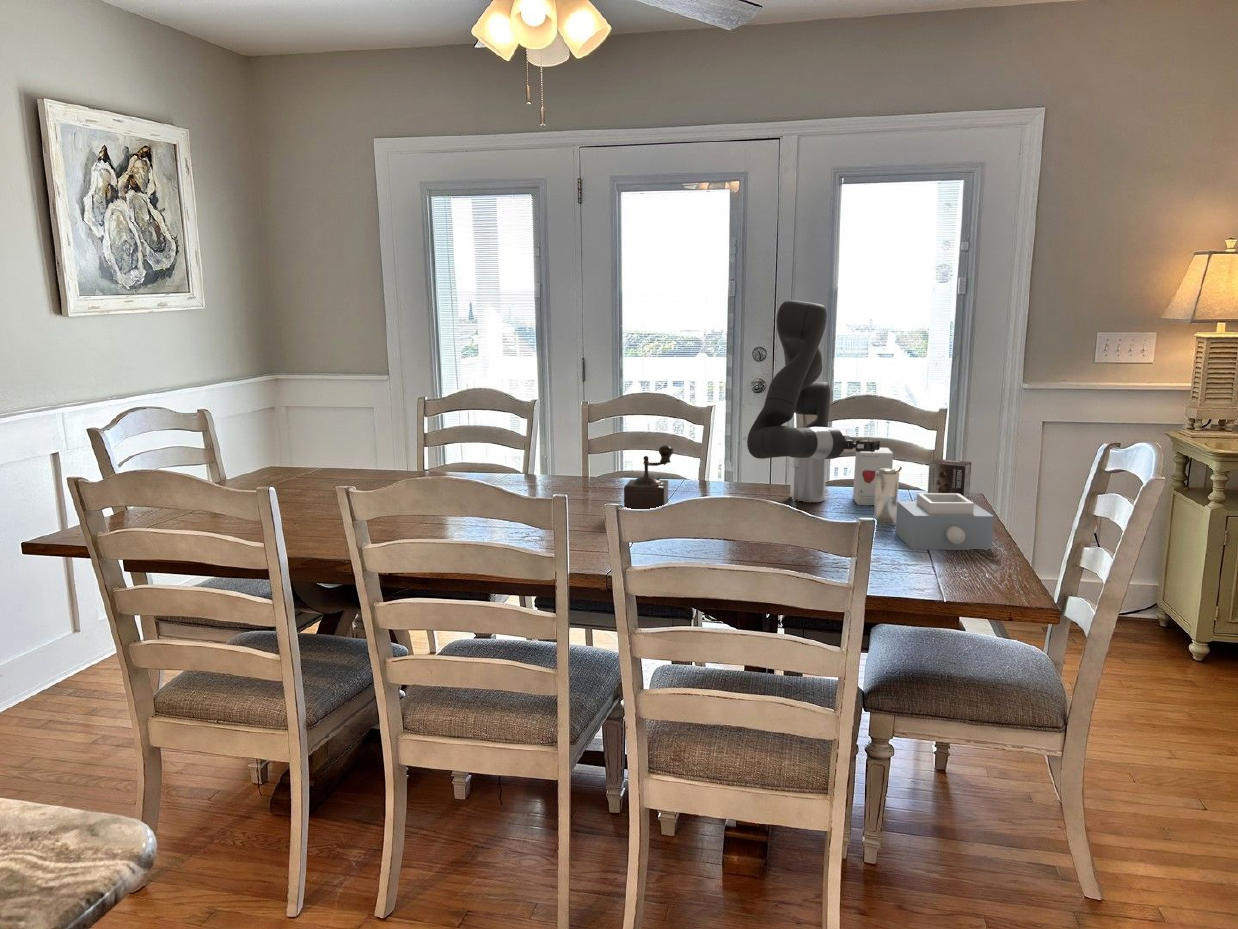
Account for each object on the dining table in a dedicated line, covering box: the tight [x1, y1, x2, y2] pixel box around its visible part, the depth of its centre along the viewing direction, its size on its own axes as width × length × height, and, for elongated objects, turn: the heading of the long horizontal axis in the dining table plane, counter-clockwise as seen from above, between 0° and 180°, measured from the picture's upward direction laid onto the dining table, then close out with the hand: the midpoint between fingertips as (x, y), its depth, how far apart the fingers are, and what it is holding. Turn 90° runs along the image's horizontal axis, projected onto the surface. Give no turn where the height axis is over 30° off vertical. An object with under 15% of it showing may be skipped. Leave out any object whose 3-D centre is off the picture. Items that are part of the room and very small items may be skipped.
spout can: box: [873, 465, 903, 526], centre depth 233 cm, size 7×6×14 cm
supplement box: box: [852, 447, 894, 506], centre depth 254 cm, size 9×9×15 cm
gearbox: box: [894, 492, 995, 551], centre depth 215 cm, size 18×17×10 cm
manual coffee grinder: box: [623, 445, 674, 509], centre depth 238 cm, size 16×11×18 cm
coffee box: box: [927, 458, 972, 500], centre depth 231 cm, size 9×6×16 cm
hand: (864, 443), depth 225 cm, fingers open, 8 cm apart
